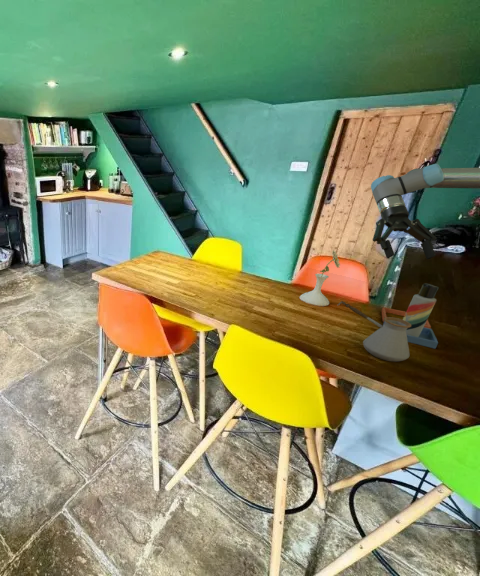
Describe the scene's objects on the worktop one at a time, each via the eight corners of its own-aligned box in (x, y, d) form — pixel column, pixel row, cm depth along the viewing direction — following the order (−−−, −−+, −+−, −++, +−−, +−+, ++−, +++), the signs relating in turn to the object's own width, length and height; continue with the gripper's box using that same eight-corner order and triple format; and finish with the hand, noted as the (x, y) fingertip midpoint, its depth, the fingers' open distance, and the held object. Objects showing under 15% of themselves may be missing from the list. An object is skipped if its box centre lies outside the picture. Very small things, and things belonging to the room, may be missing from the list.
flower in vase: (318, 310, 132) (336, 256, 122) (293, 300, 142) (308, 249, 132) (335, 305, 137) (354, 252, 128) (310, 296, 147) (326, 246, 137)
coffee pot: (406, 356, 100) (426, 316, 94) (405, 371, 93) (426, 328, 87) (329, 331, 114) (342, 295, 108) (322, 343, 107) (336, 305, 101)
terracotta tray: (423, 320, 122) (425, 315, 121) (428, 332, 114) (431, 326, 113) (380, 312, 130) (382, 307, 129) (382, 322, 121) (384, 317, 120)
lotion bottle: (393, 330, 114) (415, 281, 107) (408, 330, 114) (431, 281, 107) (406, 338, 109) (431, 287, 101) (422, 338, 109) (448, 287, 101)
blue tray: (429, 334, 112) (432, 328, 111) (435, 348, 104) (438, 342, 103) (382, 324, 120) (385, 318, 119) (385, 336, 111) (387, 330, 110)
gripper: (419, 216, 122) (438, 262, 113) (352, 216, 125) (366, 261, 116) (436, 204, 115) (458, 252, 107) (365, 204, 118) (381, 251, 109)
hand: (410, 257), depth 111 cm, fingers open, 13 cm apart
